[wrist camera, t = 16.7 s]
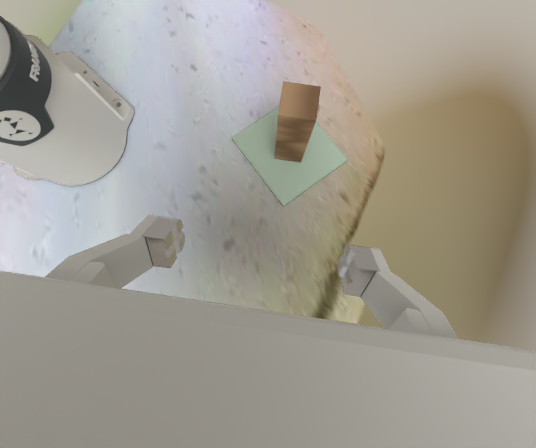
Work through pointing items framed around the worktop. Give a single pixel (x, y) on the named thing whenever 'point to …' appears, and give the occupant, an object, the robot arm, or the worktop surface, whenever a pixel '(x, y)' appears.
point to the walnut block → (295, 120)
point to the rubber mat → (288, 172)
